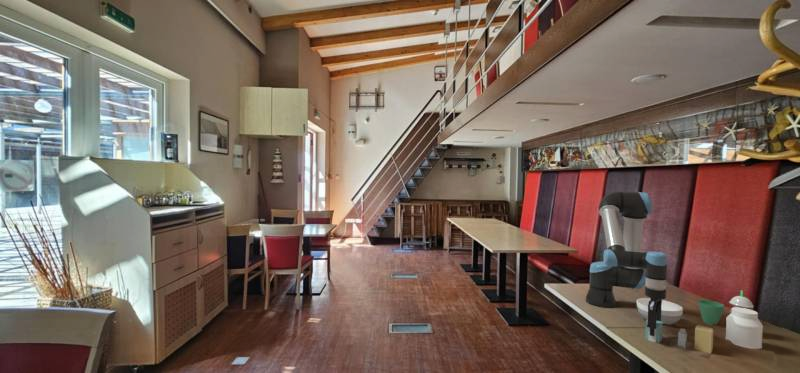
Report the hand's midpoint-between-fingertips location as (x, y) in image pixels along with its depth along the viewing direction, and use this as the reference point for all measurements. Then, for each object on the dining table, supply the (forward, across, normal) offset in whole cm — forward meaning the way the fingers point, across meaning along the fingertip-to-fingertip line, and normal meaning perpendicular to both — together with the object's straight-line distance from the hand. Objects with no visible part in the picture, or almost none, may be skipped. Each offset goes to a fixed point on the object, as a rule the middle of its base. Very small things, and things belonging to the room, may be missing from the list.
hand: (653, 340), depth 159 cm
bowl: (+1, +29, +4) cm, 29 cm away
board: (0, +2, -12) cm, 13 cm away
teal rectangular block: (0, 0, 0) cm, 0 cm away
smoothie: (+1, +42, -25) cm, 49 cm away
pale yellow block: (-1, +4, -16) cm, 17 cm away
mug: (+1, +49, -13) cm, 51 cm away
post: (-1, 0, -10) cm, 10 cm away
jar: (+1, +26, -27) cm, 37 cm away
